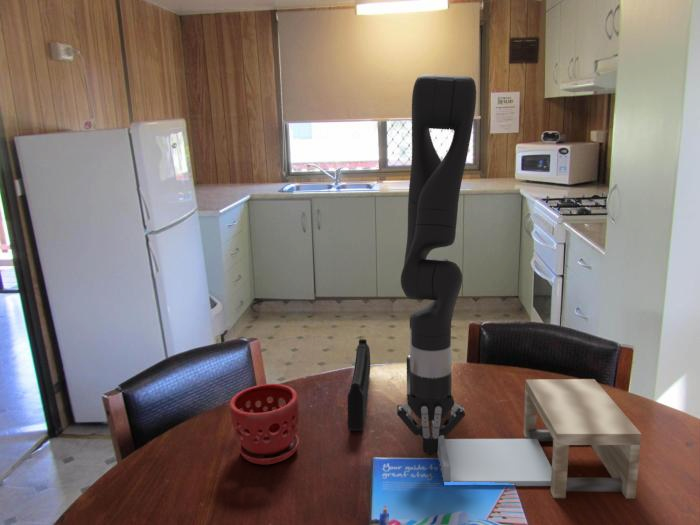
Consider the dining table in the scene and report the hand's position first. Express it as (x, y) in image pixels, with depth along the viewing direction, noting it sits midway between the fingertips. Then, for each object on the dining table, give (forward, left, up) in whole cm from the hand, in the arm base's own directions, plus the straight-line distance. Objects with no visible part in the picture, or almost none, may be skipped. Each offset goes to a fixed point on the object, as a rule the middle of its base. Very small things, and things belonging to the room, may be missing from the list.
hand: (430, 453), depth 107 cm
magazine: (-28, +8, -2) cm, 29 cm away
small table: (+19, +19, -2) cm, 27 cm away
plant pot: (-25, -20, -2) cm, 32 cm away
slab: (+8, +8, -2) cm, 12 cm away
